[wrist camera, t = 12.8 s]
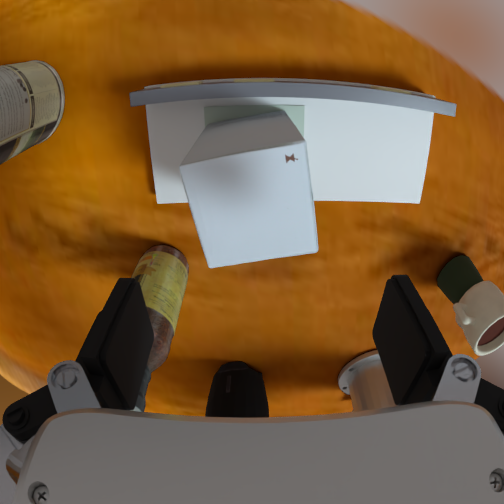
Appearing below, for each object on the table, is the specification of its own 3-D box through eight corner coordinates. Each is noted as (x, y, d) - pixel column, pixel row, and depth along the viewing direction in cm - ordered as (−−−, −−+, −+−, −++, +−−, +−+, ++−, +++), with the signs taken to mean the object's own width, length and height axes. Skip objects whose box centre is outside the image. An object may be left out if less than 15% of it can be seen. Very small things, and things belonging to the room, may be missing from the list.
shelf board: (412, 196, 34) (420, 204, 32) (162, 196, 34) (156, 204, 32) (425, 93, 27) (436, 96, 25) (150, 85, 27) (143, 86, 25)
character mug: (414, 285, 41) (452, 356, 30) (437, 242, 37) (488, 308, 26) (464, 295, 42) (503, 355, 31) (487, 257, 38) (534, 315, 27)
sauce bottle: (148, 234, 36) (83, 373, 19) (198, 253, 38) (164, 403, 21) (135, 275, 39) (81, 409, 23) (180, 292, 41) (148, 433, 24)
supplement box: (205, 122, 28) (174, 161, 17) (286, 108, 27) (310, 138, 16) (221, 195, 31) (206, 271, 21) (297, 183, 31) (321, 254, 20)
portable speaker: (263, 390, 53) (266, 494, 36) (209, 386, 52) (200, 491, 36) (270, 361, 48) (276, 479, 32) (209, 356, 48) (198, 475, 31)
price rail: (433, 109, 26) (454, 116, 23) (145, 101, 26) (130, 106, 23) (435, 96, 25) (456, 102, 22) (144, 86, 26) (129, 90, 22)
